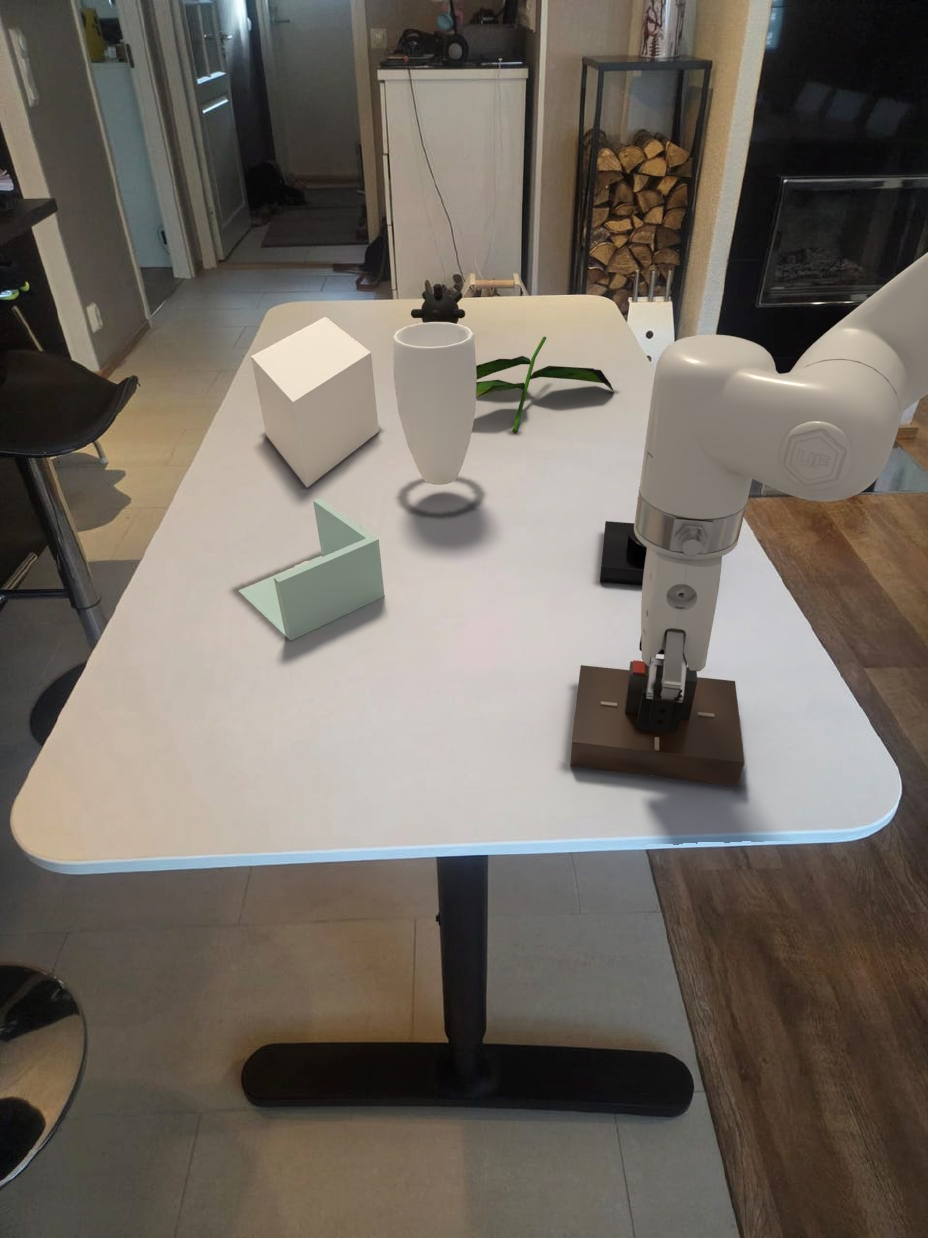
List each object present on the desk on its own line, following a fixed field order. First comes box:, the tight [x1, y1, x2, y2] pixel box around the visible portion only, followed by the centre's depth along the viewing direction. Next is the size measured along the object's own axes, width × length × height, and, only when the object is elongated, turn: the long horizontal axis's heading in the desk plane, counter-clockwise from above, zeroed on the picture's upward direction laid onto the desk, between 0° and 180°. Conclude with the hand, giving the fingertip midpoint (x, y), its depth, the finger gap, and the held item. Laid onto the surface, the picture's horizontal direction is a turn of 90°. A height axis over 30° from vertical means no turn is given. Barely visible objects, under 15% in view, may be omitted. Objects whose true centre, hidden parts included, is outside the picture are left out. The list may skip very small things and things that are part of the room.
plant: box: [476, 336, 615, 433], centre depth 130 cm, size 19×27×8 cm
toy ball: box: [410, 283, 466, 324], centre depth 156 cm, size 11×11×12 cm
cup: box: [391, 322, 478, 486], centre depth 101 cm, size 10×10×22 cm
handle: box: [625, 659, 698, 720], centre depth 68 cm, size 6×2×5 cm, turn 79°
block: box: [250, 316, 380, 488], centre depth 120 cm, size 18×35×12 cm, turn 1°
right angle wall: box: [238, 497, 386, 642], centre depth 88 cm, size 12×12×8 cm
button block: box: [599, 520, 647, 587], centre depth 92 cm, size 12×10×4 cm
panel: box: [569, 664, 745, 787], centre depth 71 cm, size 14×10×3 cm
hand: (656, 688), depth 69 cm, fingers open, 9 cm apart
